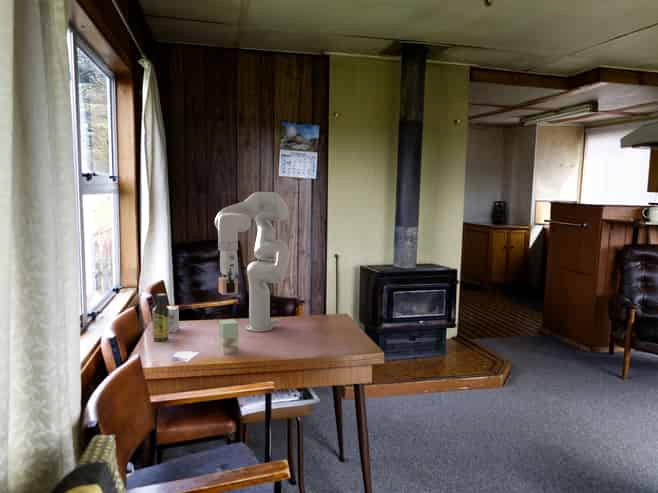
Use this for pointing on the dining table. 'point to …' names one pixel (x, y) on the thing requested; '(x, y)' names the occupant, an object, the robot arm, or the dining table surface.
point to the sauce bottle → (161, 319)
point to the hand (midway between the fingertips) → (228, 290)
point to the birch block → (228, 345)
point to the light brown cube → (223, 286)
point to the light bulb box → (170, 318)
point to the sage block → (228, 329)
